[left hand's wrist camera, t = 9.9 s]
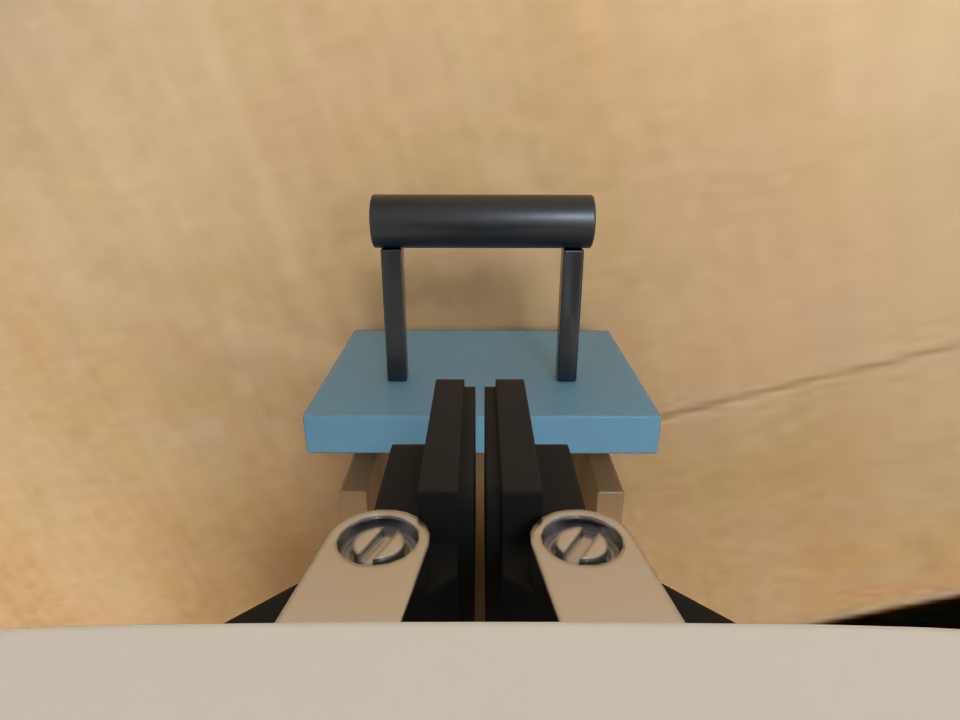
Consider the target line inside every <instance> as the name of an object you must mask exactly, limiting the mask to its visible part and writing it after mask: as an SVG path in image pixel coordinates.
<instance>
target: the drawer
mask: <svg viewBox="0 0 960 720" xmlns="http://www.w3.org/2000/svg"><path fill="white" fill-rule="evenodd" d="M369 222H370V234H371V240H372V244H373V246H374V247H375V248H382V249H381V266H382V284H383V303H384V322H385V330H356V331H355V332H354V333H353V335H352V337H351V338H350V340H349V341H348V343H347V345H346V346H345V348H344V350H343V351H342V353H341V355H340V356H339V358H338V360H337V361H336V363H335V365H334V366H333V368H332V369H331V371H330V373H329V374H328V376H327V378H326V379H325V381H324V383H323V384H322V386H321V388H320V389H319V391H318V392H317V394H316V396H315V397H314V399H313V401H312V402H311V404H310V406H309V407H308V409H307V411H306V412H305V414H304V416H303V420H304V429H305V439H306V448H307V452H309V453H354V456H353V459H352V461H351V464H350V466H349V469H348V472H347V474H346V477H345V479H344V482H343V485H342V487H341V490H340V502H341V514H342V521H344V520H346V519H347V518H349V517H351V516H354V515H357V514H359V513H362V512H367V511H373V510H374V509H375V505H376V501H377V498H378V494H379V490H380V487H381V483H382V479H383V476H384V472H385V468H386V465H387V461H388V457H389V454H390V450H391V447H392V445H393V444H425V441H426V435H427V429H428V423H429V418H430V412H431V406H432V400H433V394H434V388H435V383H436V379H464V382H465V387H475V392H476V553H475V622H485V554H484V391H485V387H495V382H496V379H524V383H525V388H526V394H527V400H528V406H529V412H530V418H531V423H532V429H533V435H534V441H535V444H567V445H568V447H569V450H570V454H571V457H572V461H573V465H574V468H575V472H576V476H577V479H578V483H579V487H580V490H581V494H582V498H583V501H584V505H585V509H586V510H587V511H593V512H598V513H601V514H603V515H606V516H609V517H611V518H613V519H614V520H616V521H618V522H619V523H621V522H622V511H623V501H624V491H623V488H622V486H621V483H620V480H619V478H618V475H617V473H616V470H615V468H614V465H613V462H612V460H611V457H610V455H609V453H657V450H658V441H659V432H660V423H661V416H660V414H659V412H658V411H657V409H656V407H655V406H654V404H653V403H652V401H651V399H650V398H649V396H648V395H647V393H646V391H645V390H644V388H643V386H642V385H641V383H640V382H639V380H638V378H637V377H636V375H635V373H634V372H633V370H632V369H631V367H630V365H629V364H628V362H627V360H626V359H625V357H624V356H623V354H622V352H621V351H620V349H619V347H618V346H617V344H616V343H615V341H614V339H613V338H612V336H611V334H610V333H609V331H579V326H580V310H581V293H582V276H583V259H584V250H583V249H582V248H590V247H591V246H592V244H593V240H594V234H595V223H596V209H595V201H594V197H593V196H592V195H372V197H371V201H370V210H369ZM403 248H562V249H561V268H560V290H559V311H558V331H417V330H407V326H406V301H405V277H404V252H403Z"/></svg>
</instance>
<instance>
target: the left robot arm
mask: <svg viewBox="0 0 960 720" xmlns="http://www.w3.org/2000/svg"><path fill="white" fill-rule="evenodd" d="M475 553H476V392H475V387H465V382H464V379H436V383H435V388H434V394H433V400H432V406H431V412H430V418H429V423H428V429H427V435H426V441H425V444H393V445H392V447H391V450H390V454H389V457H388V461H387V465H386V468H385V472H384V476H383V479H382V483H381V487H380V490H379V494H378V498H377V501H376V505H375V509H374V510H373V511H367V512H362V513H359V514H357V515H354V516H351V517H349V518H347V519H346V520H344V521H342V522H341V523H339V524H338V525H337V526H336V527H335V528H334V529H333V530H332V531H331V532H330V533H329V535H328V536H327V538H326V540H325V541H324V543H323V545H322V546H321V548H320V549H319V551H318V553H317V554H316V556H315V558H314V559H313V561H312V562H311V564H310V566H309V567H308V569H307V571H306V572H305V574H304V575H303V577H302V579H301V580H300V582H299V583H298V584H296V585H295V586H293V587H291V588H289V589H287V590H285V591H283V592H282V593H280V594H278V595H276V596H274V597H272V598H270V599H269V600H267V601H265V602H263V603H261V604H259V605H257V606H255V607H254V608H252V609H250V610H248V611H246V612H244V613H242V614H241V615H239V616H237V617H235V618H233V619H231V620H229V621H228V622H226V623H224V624H140V625H102V626H72V627H41V628H14V629H0V720H960V629H946V628H924V627H891V626H857V625H820V624H736V623H734V622H732V621H731V620H729V619H727V618H725V617H723V616H721V615H719V614H718V613H716V612H714V611H712V610H710V609H708V608H706V607H705V606H703V605H701V604H699V603H697V602H695V601H693V600H691V599H690V598H688V597H686V596H684V595H682V594H680V593H678V592H677V591H675V590H673V589H671V588H669V587H667V586H665V585H664V584H662V583H661V582H660V580H659V579H658V577H657V575H656V574H655V572H654V571H653V569H652V567H651V566H650V564H649V562H648V561H647V559H646V558H645V556H644V554H643V553H642V551H641V549H640V548H639V546H638V545H637V543H636V541H635V540H634V538H633V536H632V535H631V533H630V532H629V531H628V530H627V529H626V528H625V527H624V526H623V525H622V524H621V523H619V522H618V521H616V520H614V519H613V518H611V517H609V516H606V515H603V514H601V513H598V512H593V511H587V510H586V509H585V505H584V501H583V498H582V494H581V490H580V487H579V483H578V479H577V476H576V472H575V468H574V465H573V461H572V457H571V454H570V450H569V447H568V445H567V444H535V441H534V435H533V429H532V423H531V418H530V412H529V406H528V400H527V394H526V388H525V383H524V379H496V382H495V387H485V391H484V554H485V622H475Z"/></svg>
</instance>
